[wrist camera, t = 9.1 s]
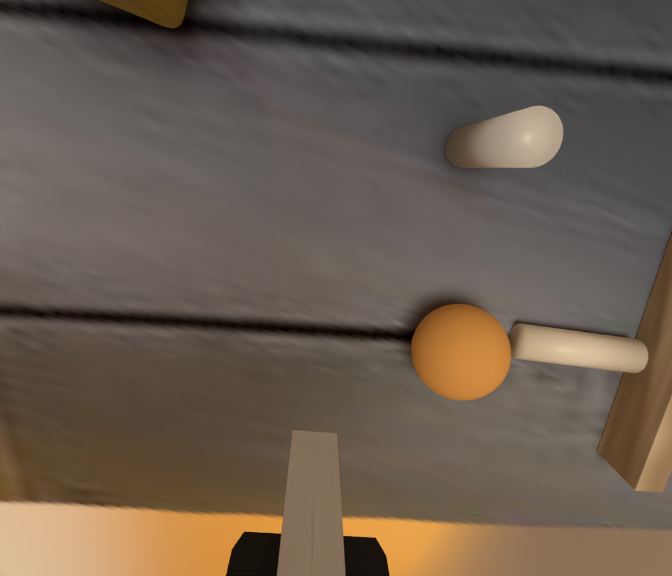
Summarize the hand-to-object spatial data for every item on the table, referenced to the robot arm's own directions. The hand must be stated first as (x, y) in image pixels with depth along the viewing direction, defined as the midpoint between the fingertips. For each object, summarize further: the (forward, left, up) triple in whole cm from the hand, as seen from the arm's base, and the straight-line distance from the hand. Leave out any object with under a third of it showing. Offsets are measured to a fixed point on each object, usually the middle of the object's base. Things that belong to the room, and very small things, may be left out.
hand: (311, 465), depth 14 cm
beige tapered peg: (+8, +12, -14) cm, 20 cm away
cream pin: (+14, 0, -13) cm, 19 cm away
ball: (+9, 0, -11) cm, 15 cm away
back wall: (+24, 0, -14) cm, 28 cm away
